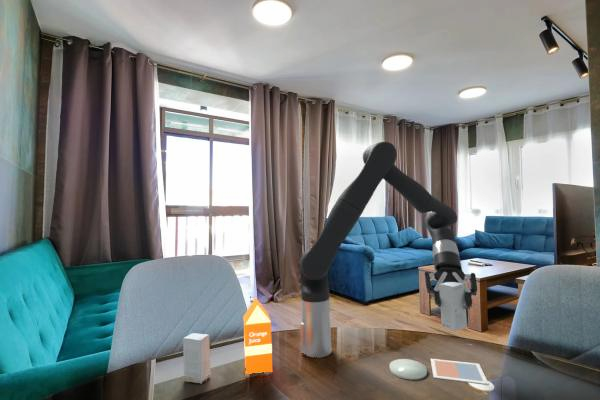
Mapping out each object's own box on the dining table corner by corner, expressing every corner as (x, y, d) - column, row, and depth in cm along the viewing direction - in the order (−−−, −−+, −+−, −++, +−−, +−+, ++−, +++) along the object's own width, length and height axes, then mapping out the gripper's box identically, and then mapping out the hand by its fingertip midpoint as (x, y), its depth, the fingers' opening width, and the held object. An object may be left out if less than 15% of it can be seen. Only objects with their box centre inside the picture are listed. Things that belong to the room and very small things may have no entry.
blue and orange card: (433, 377, 83) (433, 377, 83) (430, 359, 94) (430, 358, 94) (488, 384, 79) (488, 383, 79) (479, 364, 89) (479, 363, 89)
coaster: (388, 376, 85) (388, 373, 85) (390, 360, 94) (390, 357, 94) (428, 381, 81) (428, 378, 81) (425, 364, 91) (425, 361, 91)
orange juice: (245, 378, 87) (243, 305, 87) (244, 363, 95) (242, 297, 96) (273, 374, 88) (271, 303, 89) (269, 360, 97) (267, 295, 98)
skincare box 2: (456, 332, 83) (453, 286, 84) (440, 327, 87) (438, 283, 88) (468, 326, 87) (465, 283, 87) (452, 322, 91) (450, 280, 91)
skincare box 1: (211, 377, 88) (210, 334, 88) (201, 385, 84) (200, 340, 84) (193, 374, 90) (192, 332, 90) (183, 382, 86) (182, 338, 86)
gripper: (421, 250, 97) (426, 298, 86) (473, 250, 93) (485, 301, 81) (421, 264, 102) (425, 311, 90) (470, 265, 97) (481, 315, 86)
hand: (453, 306), depth 86 cm, fingers closed on skincare box 2, 6 cm apart
